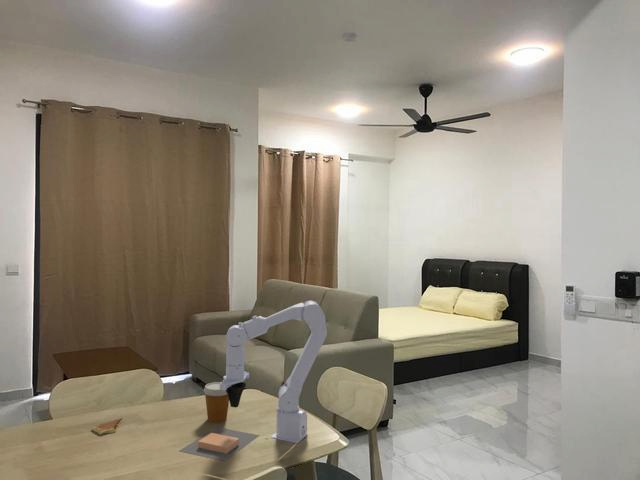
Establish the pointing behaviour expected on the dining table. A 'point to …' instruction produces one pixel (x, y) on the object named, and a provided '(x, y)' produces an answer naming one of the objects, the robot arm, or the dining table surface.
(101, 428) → the pizza slice
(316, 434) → the dining table surface
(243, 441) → the rubber mat
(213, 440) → the terracotta tile
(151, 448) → the dining table surface
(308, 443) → the dining table surface
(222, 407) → the disposable coffee cup
